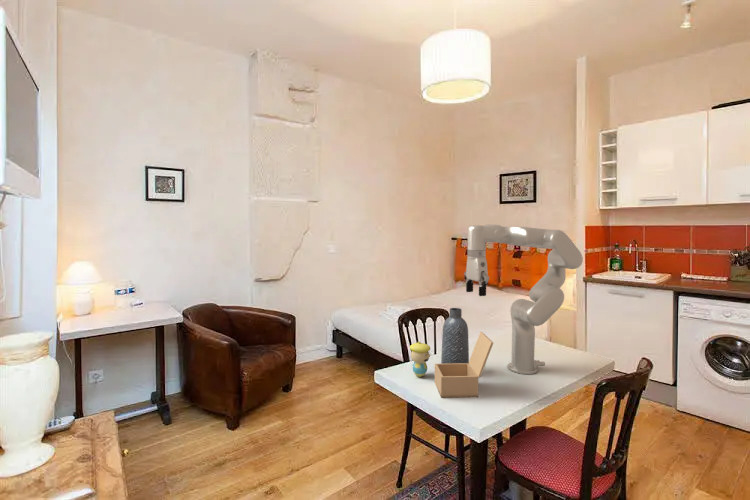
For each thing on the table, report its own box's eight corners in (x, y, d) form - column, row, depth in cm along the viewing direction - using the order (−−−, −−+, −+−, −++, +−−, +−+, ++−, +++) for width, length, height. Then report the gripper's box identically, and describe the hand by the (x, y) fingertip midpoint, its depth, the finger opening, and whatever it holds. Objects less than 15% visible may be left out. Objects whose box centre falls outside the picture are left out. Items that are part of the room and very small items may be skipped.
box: (468, 382, 162) (468, 363, 161) (478, 397, 148) (478, 376, 147) (434, 382, 162) (434, 363, 161) (441, 397, 148) (441, 377, 147)
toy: (425, 381, 163) (426, 346, 162) (406, 377, 168) (406, 342, 166) (433, 375, 169) (433, 341, 168) (414, 371, 174) (414, 338, 173)
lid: (468, 363, 161) (470, 363, 161) (478, 376, 147) (480, 377, 147) (480, 331, 161) (482, 332, 161) (491, 342, 147) (494, 342, 147)
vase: (474, 371, 173) (475, 308, 171) (459, 379, 164) (460, 313, 162) (450, 365, 181) (451, 304, 179) (435, 372, 173) (435, 309, 171)
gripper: (496, 255, 160) (495, 296, 161) (472, 252, 176) (472, 290, 178) (480, 256, 158) (479, 298, 159) (458, 252, 174) (457, 291, 175)
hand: (475, 293), depth 168 cm, fingers open, 9 cm apart
